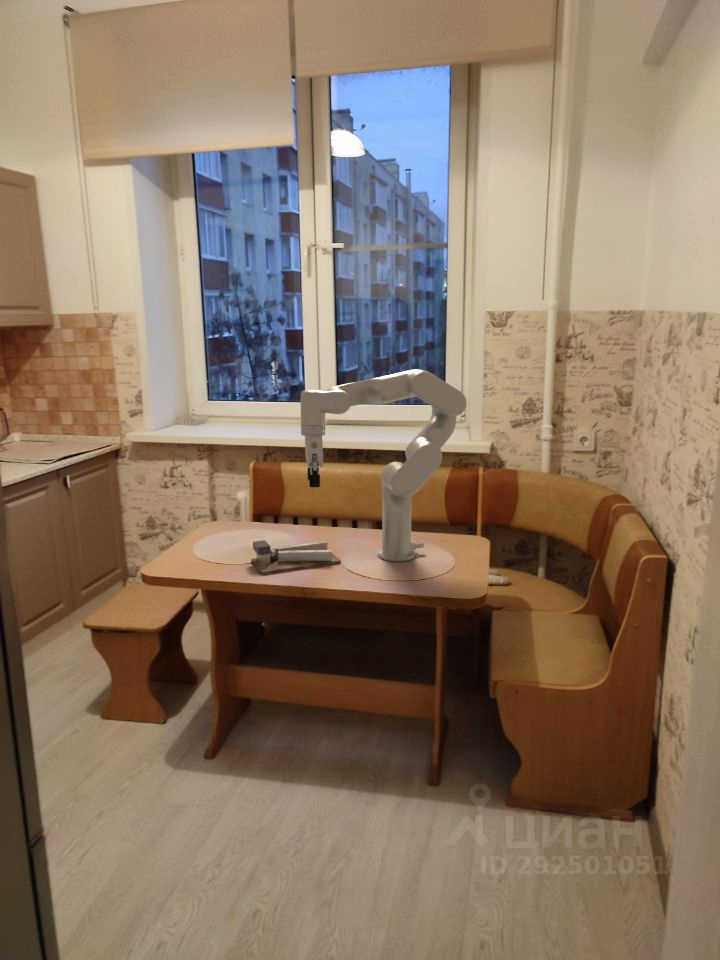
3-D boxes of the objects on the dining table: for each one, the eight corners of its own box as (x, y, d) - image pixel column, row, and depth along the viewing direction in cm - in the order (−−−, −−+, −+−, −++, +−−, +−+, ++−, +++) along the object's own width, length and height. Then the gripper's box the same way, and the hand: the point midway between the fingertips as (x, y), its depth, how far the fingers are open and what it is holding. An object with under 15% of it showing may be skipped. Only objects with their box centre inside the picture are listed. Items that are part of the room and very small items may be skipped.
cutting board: (326, 551, 226) (326, 548, 226) (340, 563, 215) (340, 560, 215) (251, 561, 217) (251, 558, 216) (261, 575, 205) (261, 572, 205)
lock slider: (265, 547, 217) (264, 540, 216) (270, 553, 211) (270, 545, 210) (253, 548, 215) (252, 541, 214) (258, 554, 209) (257, 547, 209)
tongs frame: (324, 549, 225) (324, 540, 224) (331, 555, 220) (331, 545, 219) (256, 559, 216) (256, 549, 215) (261, 565, 211) (261, 555, 210)
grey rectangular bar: (331, 556, 217) (331, 548, 216) (331, 560, 214) (331, 551, 213) (269, 558, 216) (268, 549, 215) (268, 562, 212) (267, 553, 212)
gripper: (327, 434, 200) (327, 489, 203) (322, 425, 216) (323, 477, 220) (302, 434, 199) (303, 490, 202) (299, 426, 215) (300, 477, 219)
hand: (313, 483), depth 211 cm, fingers open, 9 cm apart
